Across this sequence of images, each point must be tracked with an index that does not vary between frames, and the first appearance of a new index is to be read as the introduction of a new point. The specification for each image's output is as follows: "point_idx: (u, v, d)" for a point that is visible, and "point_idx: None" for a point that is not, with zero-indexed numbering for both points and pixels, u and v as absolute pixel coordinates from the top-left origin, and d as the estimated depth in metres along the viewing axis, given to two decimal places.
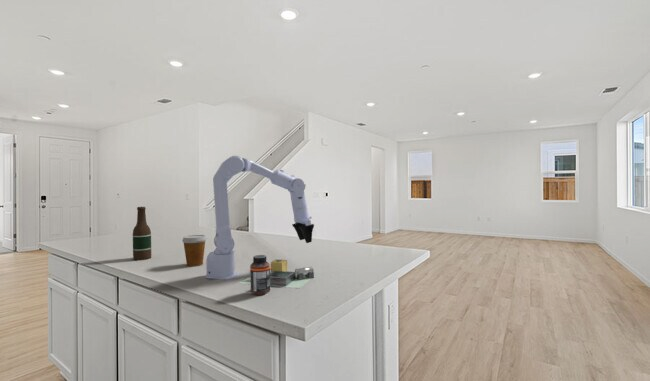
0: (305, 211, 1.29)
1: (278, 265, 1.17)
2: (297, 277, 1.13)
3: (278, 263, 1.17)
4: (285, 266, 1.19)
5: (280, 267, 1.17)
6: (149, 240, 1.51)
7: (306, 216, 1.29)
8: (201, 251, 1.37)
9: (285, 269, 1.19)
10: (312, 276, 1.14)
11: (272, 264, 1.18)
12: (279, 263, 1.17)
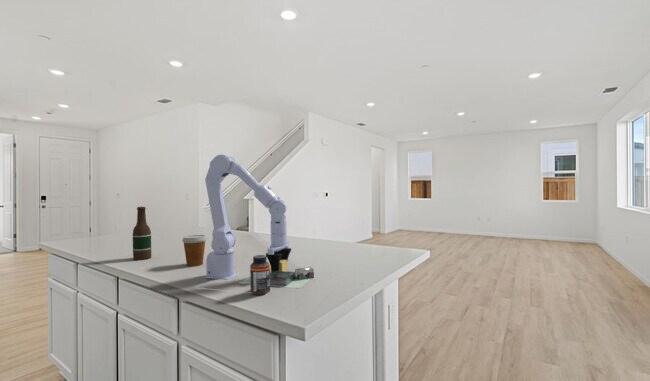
0: (278, 238, 1.16)
1: None
2: (297, 277, 1.13)
3: None
4: (285, 266, 1.19)
5: (280, 267, 1.17)
6: (149, 240, 1.51)
7: (279, 244, 1.16)
8: (201, 251, 1.37)
9: (285, 269, 1.19)
10: (312, 276, 1.14)
11: None
12: None
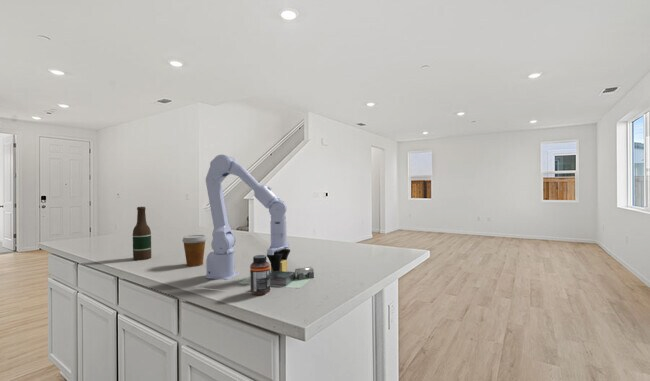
0: (278, 239, 1.16)
1: None
2: (297, 277, 1.13)
3: None
4: (285, 266, 1.19)
5: (280, 267, 1.17)
6: (149, 240, 1.51)
7: (279, 244, 1.16)
8: (201, 251, 1.37)
9: (285, 269, 1.19)
10: (312, 276, 1.14)
11: None
12: None
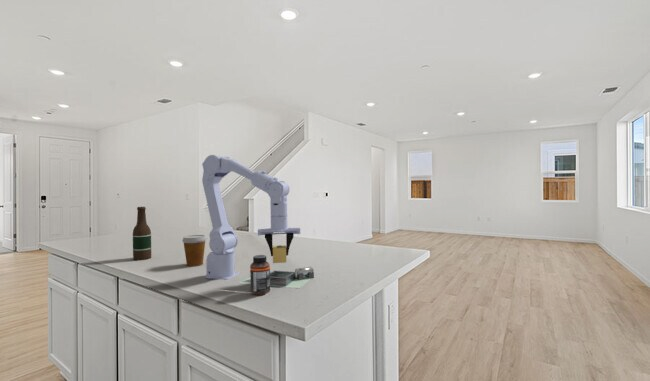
0: (271, 221, 1.11)
1: None
2: (297, 277, 1.13)
3: None
4: (281, 254, 1.11)
5: None
6: (149, 240, 1.51)
7: (271, 227, 1.11)
8: (201, 251, 1.37)
9: (281, 257, 1.11)
10: (312, 276, 1.14)
11: None
12: None
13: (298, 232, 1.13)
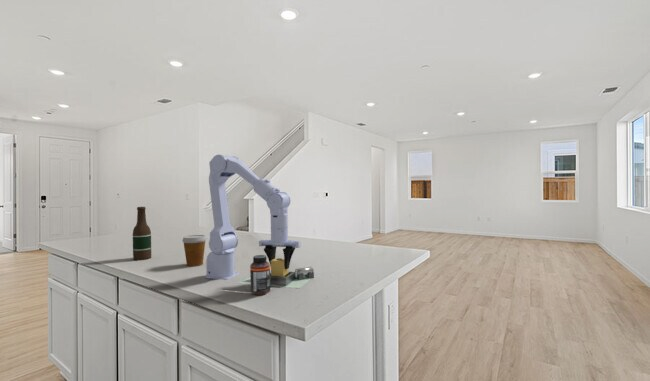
0: None
1: None
2: (297, 277, 1.13)
3: None
4: (279, 267, 1.08)
5: None
6: (149, 240, 1.51)
7: (271, 238, 1.10)
8: (201, 251, 1.37)
9: (279, 270, 1.08)
10: (312, 276, 1.14)
11: None
12: None
13: (296, 246, 1.08)
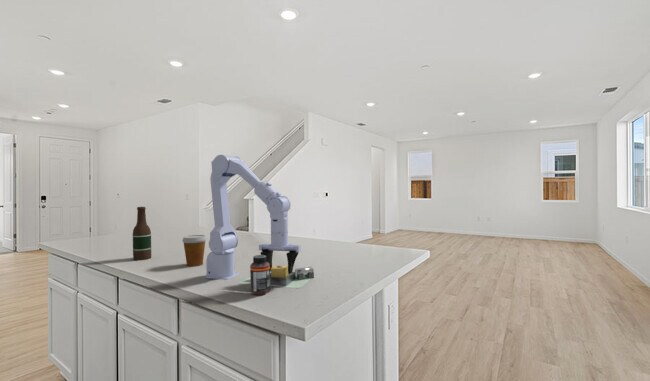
0: (271, 236, 1.10)
1: None
2: (297, 277, 1.13)
3: None
4: (279, 275, 1.08)
5: None
6: (149, 240, 1.51)
7: (271, 243, 1.10)
8: (201, 251, 1.37)
9: None
10: (312, 276, 1.14)
11: None
12: None
13: (296, 250, 1.08)
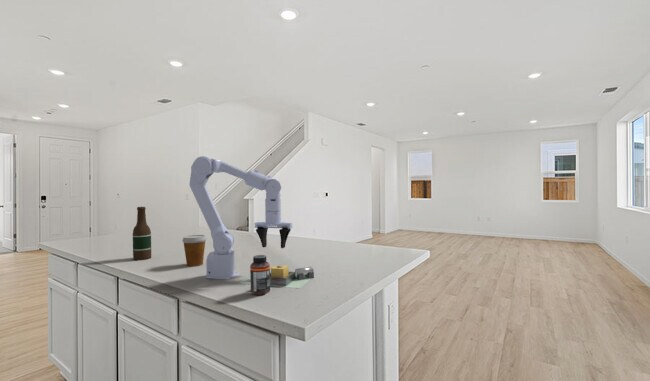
0: (265, 215, 1.21)
1: None
2: (297, 277, 1.13)
3: None
4: (279, 275, 1.08)
5: None
6: (149, 240, 1.51)
7: None
8: (201, 251, 1.37)
9: None
10: (312, 276, 1.14)
11: None
12: None
13: (288, 227, 1.19)
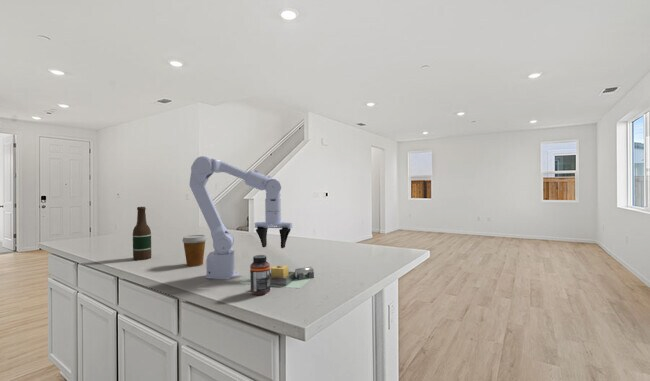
0: (265, 215, 1.21)
1: None
2: (297, 277, 1.13)
3: None
4: (279, 275, 1.08)
5: None
6: (149, 240, 1.51)
7: (265, 220, 1.21)
8: (201, 251, 1.37)
9: None
10: (312, 276, 1.14)
11: None
12: None
13: (288, 227, 1.19)
